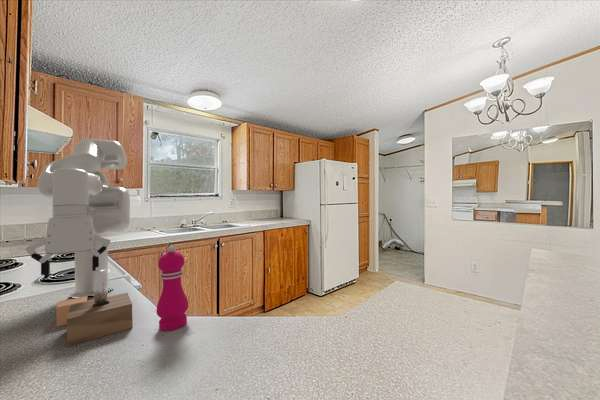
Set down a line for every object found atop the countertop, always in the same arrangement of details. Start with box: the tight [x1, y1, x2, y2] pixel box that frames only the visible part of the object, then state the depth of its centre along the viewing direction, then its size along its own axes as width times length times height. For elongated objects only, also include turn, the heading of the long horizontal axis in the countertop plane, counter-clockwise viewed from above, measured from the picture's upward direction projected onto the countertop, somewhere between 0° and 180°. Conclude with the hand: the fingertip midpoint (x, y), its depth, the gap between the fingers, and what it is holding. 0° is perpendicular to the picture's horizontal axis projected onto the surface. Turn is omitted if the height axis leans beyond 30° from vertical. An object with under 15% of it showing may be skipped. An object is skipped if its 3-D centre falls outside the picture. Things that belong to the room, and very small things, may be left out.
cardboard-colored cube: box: [55, 296, 88, 327], centre depth 69 cm, size 6×6×5 cm
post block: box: [66, 292, 134, 347], centre depth 63 cm, size 12×12×6 cm
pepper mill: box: [155, 245, 189, 332], centre depth 63 cm, size 7×7×20 cm
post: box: [93, 269, 108, 307], centre depth 63 cm, size 3×3×9 cm
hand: (71, 273), depth 69 cm, fingers open, 9 cm apart
